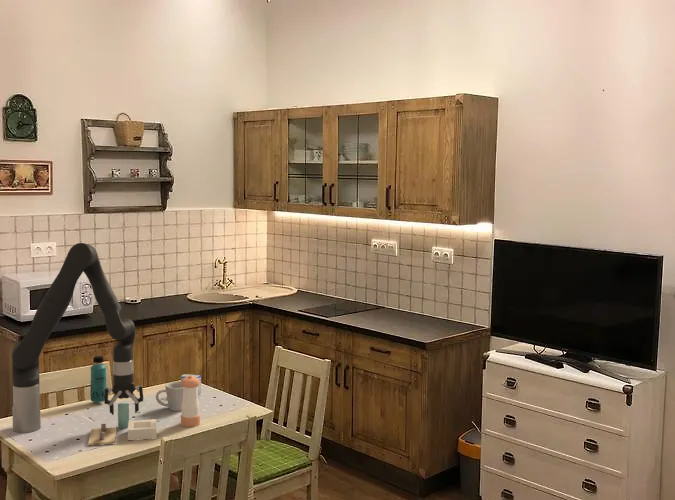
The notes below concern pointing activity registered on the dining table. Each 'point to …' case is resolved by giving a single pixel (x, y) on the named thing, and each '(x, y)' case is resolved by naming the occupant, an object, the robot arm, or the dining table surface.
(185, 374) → the medicine box
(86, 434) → the dining table surface
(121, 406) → the pin
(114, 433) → the board
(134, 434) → the socket block
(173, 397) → the mug
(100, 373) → the beverage bottle
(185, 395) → the pepper shaker
